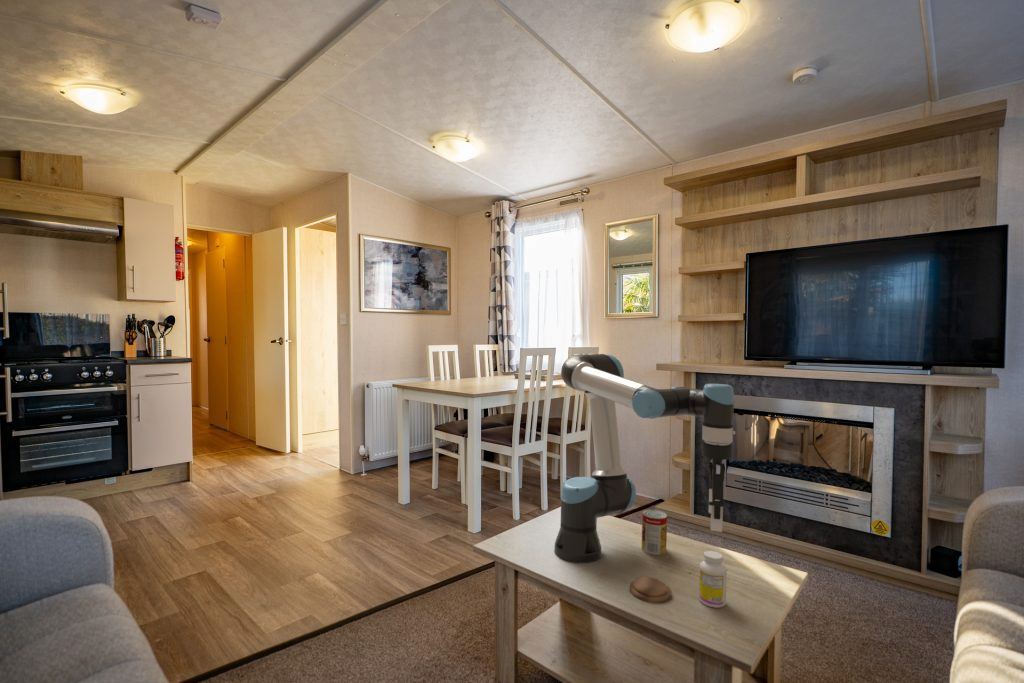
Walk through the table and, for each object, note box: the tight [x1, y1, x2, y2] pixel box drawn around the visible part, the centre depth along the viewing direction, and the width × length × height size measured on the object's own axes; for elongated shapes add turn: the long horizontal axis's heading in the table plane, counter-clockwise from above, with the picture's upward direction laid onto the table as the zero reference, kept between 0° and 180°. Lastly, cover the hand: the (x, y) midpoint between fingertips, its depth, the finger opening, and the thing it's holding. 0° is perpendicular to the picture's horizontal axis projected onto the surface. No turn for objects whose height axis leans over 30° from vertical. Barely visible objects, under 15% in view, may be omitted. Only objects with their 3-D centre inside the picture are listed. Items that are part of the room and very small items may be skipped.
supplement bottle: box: [698, 550, 728, 609], centre depth 134 cm, size 7×7×13 cm
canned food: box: [641, 509, 668, 556], centre depth 166 cm, size 8×8×12 cm
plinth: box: [629, 576, 672, 604], centre depth 138 cm, size 11×11×2 cm
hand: (715, 521), depth 134 cm, fingers open, 13 cm apart
